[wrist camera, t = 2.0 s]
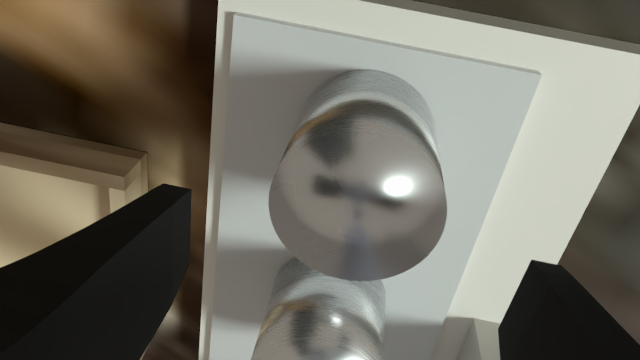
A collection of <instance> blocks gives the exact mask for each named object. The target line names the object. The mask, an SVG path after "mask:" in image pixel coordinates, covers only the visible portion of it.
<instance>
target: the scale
mask: <svg viewBox="0 0 640 360" xmlns="http://www.w3.org/2000/svg"><path fill="white" fill-rule="evenodd" d="M354 70H378V71H383V72H387V73H390V74H392V75H395V76H397V77H399V78H401V79H403V80H405V81H406V82H408V83H409V84H410V85H412V86H413V87H414V88H415V89H416V90H417V91H418V92H419V93H420V94H421V95H422V96H423V98H424V99H425V100H426V102H427V104H428V106H429V108H430V110H431V113H432V115H433V119H434V124H435V129H436V136H437V142H438V149H439V155H440V162H441V168H442V174H443V181H444V187H445V194H446V200H447V218H446V224H445V228H444V231H443V233H442V236H441V238H440V240H439V242H438V243H437V245H436V246H435V248H434V249H433V250H432V251H431V253H430V254H429V255H428V256H427V257H426V258H425V259H424V260H422V261H421V262H420V263H419V264H417V265H416V266H414V267H413V268H411V269H409V270H407V271H405V272H403V273H401V274H398V275H396V276H393V277H389V278H386V279H381V280H382V282H383V285H384V288H385V293H386V308H385V353H384V360H500V349H499V336H498V328H499V326H500V324H501V322H502V320H503V318H504V316H505V314H506V311H507V309H508V307H509V305H510V303H511V301H512V299H513V297H514V295H515V293H516V291H517V289H518V287H519V285H520V282H521V280H522V278H523V276H524V274H525V272H526V270H527V268H528V266H529V264H530V262H531V260H536V261H541V262H546V263H551V264H556V265H557V264H558V262H559V260H560V258H561V256H562V254H563V252H564V250H565V248H566V246H567V244H568V242H569V240H570V238H571V236H572V235H573V233H574V231H575V229H576V227H577V225H578V223H579V221H580V219H581V217H582V215H583V213H584V211H585V209H586V207H587V205H588V204H589V202H590V200H591V198H592V196H593V194H594V192H595V190H596V188H597V186H598V184H599V182H600V180H601V178H602V176H603V175H604V173H605V171H606V169H607V167H608V165H609V163H610V161H611V159H612V157H613V155H614V153H615V151H616V149H617V147H618V145H619V144H620V142H621V140H622V138H623V136H624V134H625V132H626V130H627V128H628V126H629V124H630V122H631V120H632V118H633V116H634V115H635V113H636V111H637V109H638V107H639V105H640V44H635V43H630V42H625V41H619V40H614V39H609V38H604V37H599V36H593V35H588V34H583V33H578V32H573V31H567V30H562V29H557V28H552V27H547V26H542V25H536V24H531V23H526V22H521V21H516V20H510V19H505V18H500V17H495V16H490V15H485V14H479V13H474V12H469V11H464V10H459V9H453V8H448V7H443V6H438V5H433V4H428V3H422V2H417V1H412V0H218V16H217V34H216V52H215V70H214V88H213V106H212V124H211V142H210V161H209V179H208V197H207V215H206V233H205V251H204V269H203V287H202V305H201V323H200V341H199V359H198V360H251V358H252V355H253V351H254V348H255V345H256V341H257V338H258V335H259V332H260V328H261V325H262V322H263V319H264V315H265V312H266V309H267V305H268V302H269V299H270V296H271V292H272V289H273V286H274V283H275V279H276V277H277V274H278V272H279V271H280V269H281V268H282V267H283V265H284V264H285V263H286V262H288V261H289V260H290V259H292V258H293V257H295V256H293V255H292V254H291V252H290V251H289V250H288V249H287V248H286V247H285V246H284V244H283V243H282V242H281V241H280V239H279V237H278V235H277V234H276V232H275V230H274V227H273V225H272V222H271V218H270V214H269V205H268V202H269V191H270V186H271V183H272V180H273V178H274V175H275V173H276V170H277V168H278V166H279V163H280V161H281V159H282V156H283V154H284V152H285V149H286V147H287V145H288V142H289V140H290V138H291V135H292V133H293V131H294V128H295V126H296V124H297V121H298V119H299V117H300V114H301V112H302V110H303V107H304V105H305V104H306V102H307V100H308V99H309V97H310V96H311V95H312V93H313V92H314V91H315V90H316V89H317V88H318V87H319V86H320V85H322V84H323V83H324V82H326V81H327V80H329V79H331V78H333V77H334V76H337V75H339V74H342V73H345V72H349V71H354Z"/></svg>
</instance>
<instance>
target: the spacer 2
mask: <svg viewBox="0 0 640 360" xmlns="http://www.w3.org/2000/svg"><path fill="white" fill-rule="evenodd" d="M385 308H386V293H385V288H384V285H383V282H382V280H374V281H350V280H344V279H338V278H335V277H331V276H328V275H325V274H323V273H320V272H318V271H316V270H314V269H312V268H310V267H308V266H307V265H305V264H304V263H302V262H301V261H300V260H298V259H297V258H296V257H293V258H292V259H290V260H289V261H288V262H286V263H285V264H284V265H283V267H282V268H281V269H280V271H279V272H278V274H277V277H276V279H275V283H274V286H273V289H272V292H271V296H270V299H269V302H268V305H267V309H266V312H265V315H264V319H263V322H262V325H261V328H260V332H259V335H258V338H257V341H256V345H255V348H254V351H253V355H252V358H251V360H384V353H385Z"/></svg>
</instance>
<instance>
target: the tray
mask: <svg viewBox="0 0 640 360" xmlns="http://www.w3.org/2000/svg"><path fill="white" fill-rule="evenodd" d="M147 192H148V174H147V152H142V151H137V150H132V149H127V148H122V147H117V146H113V145H108V144H103V143H98V142H93V141H88V140H83V139H78V138H74V137H69V136H64V135H59V134H54V133H49V132H44V131H39V130H35V129H30V128H25V127H20V126H15V125H10V124H5V123H0V268H1V267H3V266H6V265H8V264H10V263H13V262H15V261H17V260H20V259H22V258H24V257H26V256H29V255H31V254H33V253H35V252H37V251H39V250H41V249H43V248H45V247H47V246H49V245H51V244H53V243H55V242H57V241H59V240H61V239H63V238H65V237H67V236H69V235H71V234H73V233H75V232H77V231H79V230H81V229H83V228H85V227H87V226H89V225H91V224H93V223H94V222H96V221H98V220H100V219H102V218H103V217H105V216H107V215H109V214H111V213H112V212H114V211H116V210H118V209H120V208H121V207H123V206H125V205H126V204H128V203H130V202H132V201H133V200H135V199H137V198H139V197H140V196H142V195H144V194H145V193H147ZM149 344H150V343H149ZM148 346H149V345H148ZM147 348H148V347H147ZM147 348H146V350H147ZM146 350H145V351H146ZM144 353H145V352H144ZM144 353H143V355H144ZM143 355H142V357H143ZM142 357H141V359H142ZM141 359H140V360H141Z"/></svg>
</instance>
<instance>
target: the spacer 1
mask: <svg viewBox="0 0 640 360" xmlns="http://www.w3.org/2000/svg"><path fill="white" fill-rule="evenodd" d="M268 205H269V214H270V218H271V222H272V225H273V227H274V230H275V232H276V234H277V235H278V237H279V239H280V241H281V242H282V243H283V244H284V246H285V247H286V248H287V249H288V250H289V251H290V252H291V254H292V255H293V256H295V257H296V258H297V259H298V260H300V261H301V262H302V263H304V264H305V265H307V266H308V267H310V268H312V269H314V270H316V271H318V272H320V273H323V274H325V275H328V276H331V277H335V278H338V279H344V280H350V281H374V280H381V279H386V278H389V277H393V276H396V275H398V274H401V273H403V272H405V271H407V270H409V269H411V268H413V267H414V266H416V265H417V264H419V263H420V262H421V261H422V260H424V259H425V258H426V257H427V256H428V255H429V254H430V253H431V251H432V250H433V249H434V248H435V246H436V245H437V243H438V242H439V240H440V238H441V236H442V233H443V231H444V228H445V224H446V218H447V200H446V194H445V187H444V181H443V174H442V168H441V162H440V155H439V149H438V142H437V136H436V129H435V124H434V119H433V115H432V113H431V110H430V108H429V106H428V104H427V102H426V100H425V99H424V98H423V96H422V95H421V94H420V93H419V92H418V91H417V90H416V89H415V88H414V87H413V86H412V85H410V84H409V83H408V82H406V81H405V80H403V79H401V78H399V77H397V76H395V75H392V74H390V73H387V72H383V71H378V70H354V71H349V72H345V73H342V74H339V75H337V76H334V77H333V78H331V79H329V80H327V81H326V82H324V83H323V84H322V85H320V86H319V87H318V88H317V89H316V90H315V91H314V92H313V93H312V95H311V96H310V97H309V99H308V100H307V102H306V104H305V105H304V107H303V110H302V112H301V114H300V117H299V119H298V121H297V124H296V126H295V128H294V131H293V133H292V135H291V138H290V140H289V142H288V145H287V147H286V149H285V152H284V154H283V156H282V159H281V161H280V163H279V166H278V168H277V170H276V173H275V175H274V178H273V180H272V183H271V186H270V191H269V202H268Z"/></svg>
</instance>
